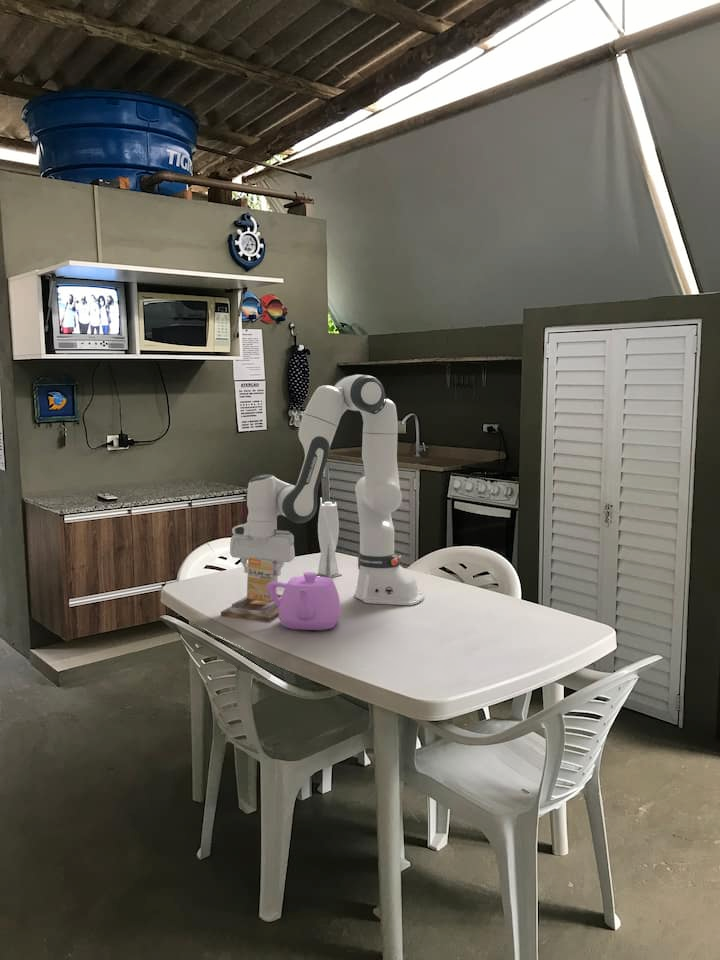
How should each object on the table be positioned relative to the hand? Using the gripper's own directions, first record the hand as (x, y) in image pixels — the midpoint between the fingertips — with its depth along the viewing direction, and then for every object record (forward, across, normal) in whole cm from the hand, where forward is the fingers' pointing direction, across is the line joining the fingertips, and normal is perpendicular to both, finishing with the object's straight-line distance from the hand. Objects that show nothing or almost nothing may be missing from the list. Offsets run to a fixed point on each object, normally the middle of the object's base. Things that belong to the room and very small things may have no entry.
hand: (262, 573), depth 233 cm
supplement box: (+8, 0, 0) cm, 8 cm away
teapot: (+11, -20, +10) cm, 25 cm away
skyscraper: (+11, -3, -46) cm, 48 cm away
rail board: (+11, 0, 0) cm, 11 cm away
